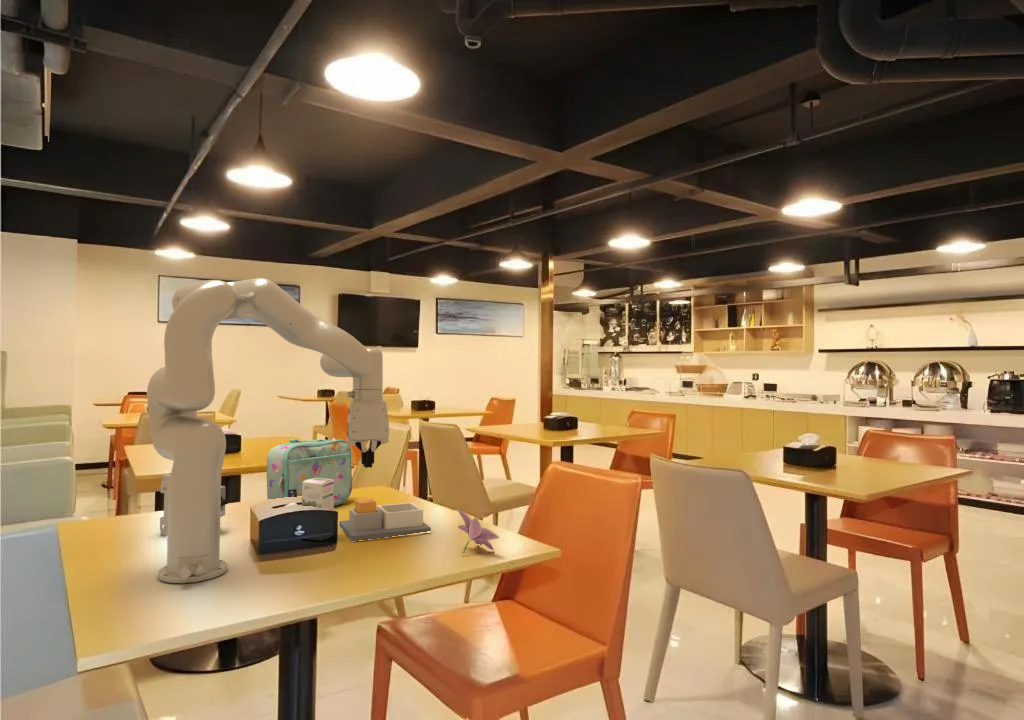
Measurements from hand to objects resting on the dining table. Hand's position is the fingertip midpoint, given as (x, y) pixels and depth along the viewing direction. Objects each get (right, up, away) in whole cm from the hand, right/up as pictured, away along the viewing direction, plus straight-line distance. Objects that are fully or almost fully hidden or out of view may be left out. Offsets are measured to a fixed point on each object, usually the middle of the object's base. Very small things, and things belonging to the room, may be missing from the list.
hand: (367, 466), depth 159 cm
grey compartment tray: (+4, -17, +2) cm, 17 cm away
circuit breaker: (-43, -16, -4) cm, 46 cm away
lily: (+29, -17, -17) cm, 38 cm away
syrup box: (-11, -17, -7) cm, 21 cm away
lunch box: (-23, -17, +24) cm, 37 cm away
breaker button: (0, -13, -1) cm, 13 cm away
